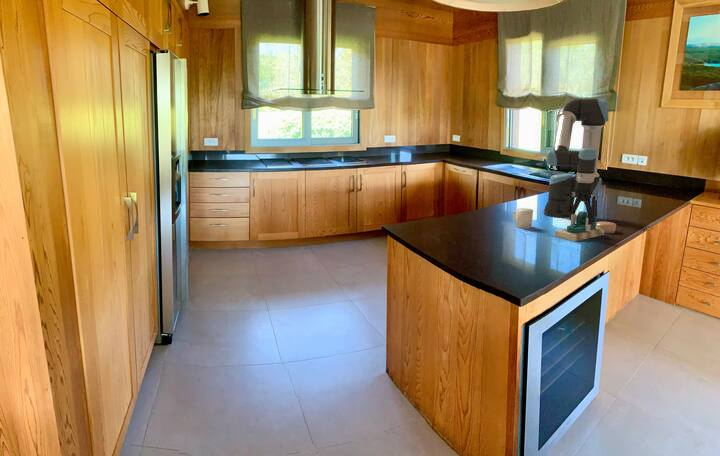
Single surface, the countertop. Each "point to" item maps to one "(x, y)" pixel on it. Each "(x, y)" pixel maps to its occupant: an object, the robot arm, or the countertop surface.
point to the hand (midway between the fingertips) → (580, 229)
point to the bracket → (581, 223)
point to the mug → (523, 218)
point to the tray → (579, 234)
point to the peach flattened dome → (606, 226)
